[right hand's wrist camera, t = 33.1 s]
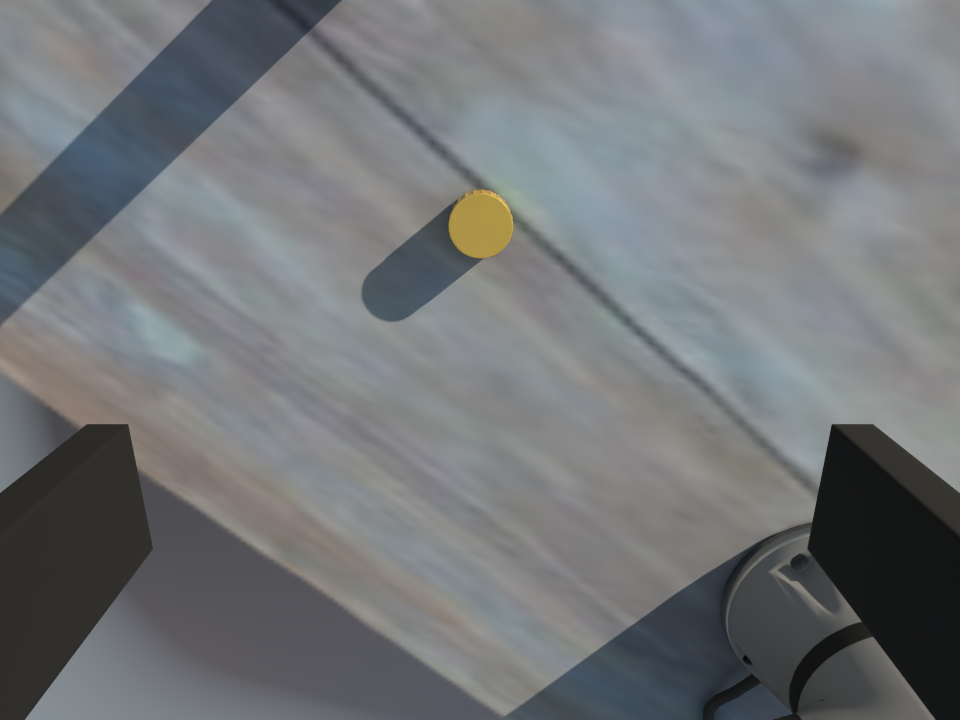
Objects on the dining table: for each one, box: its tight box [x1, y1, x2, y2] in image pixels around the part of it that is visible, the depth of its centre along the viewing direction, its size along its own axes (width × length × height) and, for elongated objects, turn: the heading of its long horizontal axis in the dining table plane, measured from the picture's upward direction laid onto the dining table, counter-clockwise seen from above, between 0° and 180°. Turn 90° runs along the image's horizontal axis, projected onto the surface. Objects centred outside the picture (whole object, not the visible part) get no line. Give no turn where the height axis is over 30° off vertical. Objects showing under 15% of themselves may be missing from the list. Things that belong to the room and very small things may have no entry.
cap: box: [448, 189, 513, 258], centre depth 43 cm, size 4×4×2 cm
